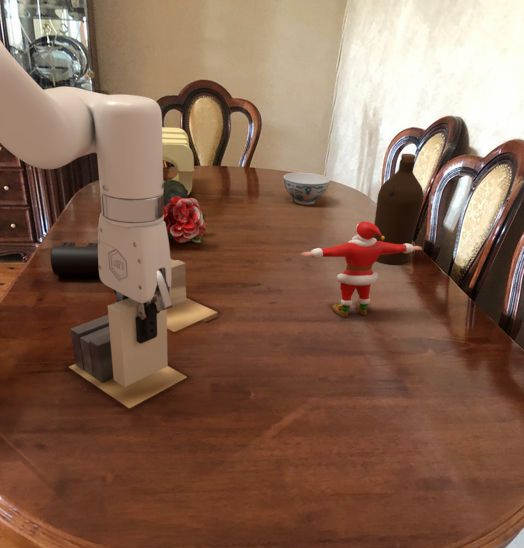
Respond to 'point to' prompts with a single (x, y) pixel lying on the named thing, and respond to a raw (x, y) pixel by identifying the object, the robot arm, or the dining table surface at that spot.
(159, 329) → the cream book
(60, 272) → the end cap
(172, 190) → the carnation
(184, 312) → the cream book stand
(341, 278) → the santa figurine
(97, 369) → the grey book stand
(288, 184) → the chinaware
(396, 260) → the olive oil
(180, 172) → the slatted curved stool
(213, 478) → the dining table surface
